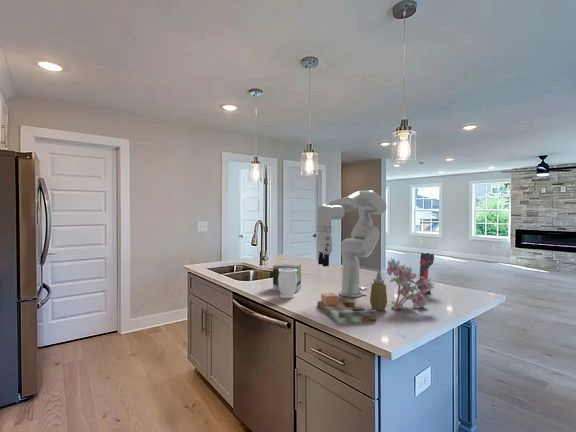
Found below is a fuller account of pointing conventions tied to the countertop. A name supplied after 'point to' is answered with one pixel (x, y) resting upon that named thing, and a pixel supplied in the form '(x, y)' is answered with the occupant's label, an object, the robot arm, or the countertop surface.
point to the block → (329, 298)
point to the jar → (287, 282)
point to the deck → (347, 312)
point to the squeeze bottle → (378, 294)
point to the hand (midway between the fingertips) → (323, 264)
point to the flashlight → (425, 265)
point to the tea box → (278, 266)
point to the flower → (408, 285)
